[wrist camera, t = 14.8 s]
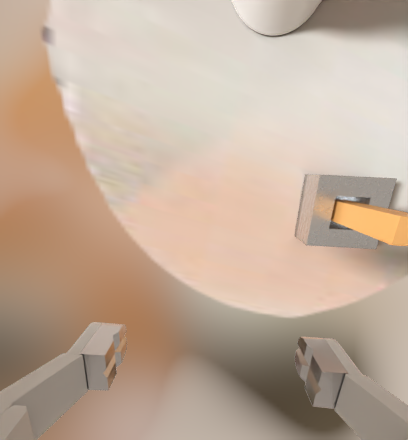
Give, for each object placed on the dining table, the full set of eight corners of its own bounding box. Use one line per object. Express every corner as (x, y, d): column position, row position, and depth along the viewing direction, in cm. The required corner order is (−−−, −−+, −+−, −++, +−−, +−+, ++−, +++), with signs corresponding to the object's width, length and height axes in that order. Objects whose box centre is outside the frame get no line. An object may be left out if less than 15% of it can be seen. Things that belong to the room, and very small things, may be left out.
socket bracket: (305, 174, 35) (320, 174, 30) (371, 177, 34) (396, 178, 30) (294, 236, 38) (306, 245, 33) (355, 239, 37) (376, 249, 33)
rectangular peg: (326, 198, 35) (400, 216, 21) (345, 199, 35) (432, 217, 21) (322, 217, 36) (391, 245, 22) (341, 218, 36) (421, 246, 22)
